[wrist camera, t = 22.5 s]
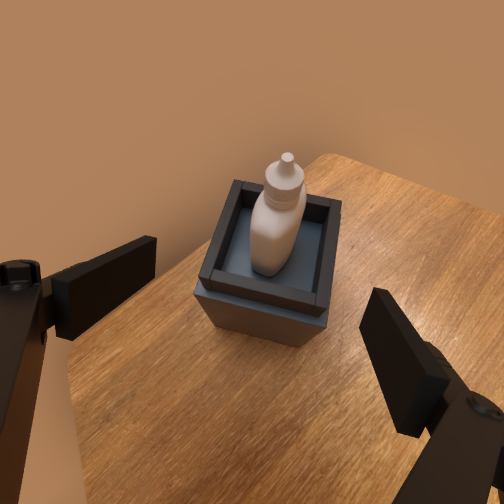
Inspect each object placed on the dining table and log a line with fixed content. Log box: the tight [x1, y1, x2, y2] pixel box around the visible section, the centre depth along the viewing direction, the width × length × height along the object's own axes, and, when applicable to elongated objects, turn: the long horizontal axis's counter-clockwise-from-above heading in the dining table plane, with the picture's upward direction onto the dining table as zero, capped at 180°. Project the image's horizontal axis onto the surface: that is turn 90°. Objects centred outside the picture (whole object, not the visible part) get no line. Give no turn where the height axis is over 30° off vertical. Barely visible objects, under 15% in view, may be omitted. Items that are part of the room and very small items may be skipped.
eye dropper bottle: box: [250, 153, 307, 277], centre depth 20 cm, size 4×6×12 cm
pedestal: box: [194, 180, 342, 348], centre depth 31 cm, size 12×12×18 cm
